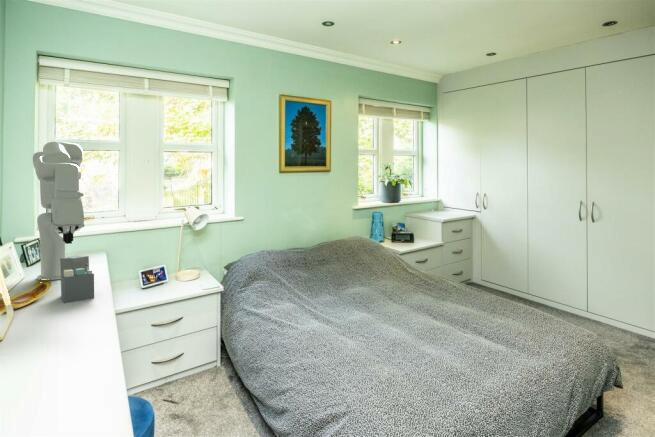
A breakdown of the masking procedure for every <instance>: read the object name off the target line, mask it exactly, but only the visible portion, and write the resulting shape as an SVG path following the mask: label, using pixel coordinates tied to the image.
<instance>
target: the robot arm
mask: <svg viewBox="0 0 655 437" xmlns="http://www.w3.org/2000/svg"><path fill="white" fill-rule="evenodd" d="M83 159H84V150H83V148H82V147H81V145H79V144H77V143H71V142H64V141H63V142H62V141H50V142H47V143H45V144H44V145H43V147H42V151H37V152H35V153H33V154H32V163H33V165H32V166H33V168H34V170H35V174H36V177H37V179H38V180H39V194H40V205H41V207H42V208H44V209H46V210H50V211H49V212H42V213H41V214H39V215H38V216H37V224H36V225H37V228H38V233H39V243H40V244H39V250H40V251H39V252H40V274H39V275H37V276H36V279H37V281H38V280H39V281H41V280H40V279H49V280H48V281H57V280H61V270H60V258H64V257H66V245H68V244H72V243H73V242H74V233H75V232H78V231H80V230H81V229H83V228H85V224H84V223H85V214H84V207H83V201H82V197H84V193H83V192H81V191H80V180H81V179H82V178H81V176H82V170H81V169H80V166H81V165H82V163H83ZM59 233H61V234H62V236H61V235H60V234H59Z"/></svg>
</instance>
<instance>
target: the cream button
mask: <svg viewBox="0 0 655 437" xmlns="http://www.w3.org/2000/svg"><path fill="white" fill-rule="evenodd" d="M72 276H74V270H72V269H70V270H64V277H72Z"/></svg>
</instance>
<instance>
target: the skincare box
mask: <svg viewBox="0 0 655 437" xmlns="http://www.w3.org/2000/svg"><path fill="white" fill-rule="evenodd" d="M89 257H90V256H89V255H72V256H71V255H70V256H65V257H64V258H60V270H61V275H64V270H70V269H72V270H74V274H75V269H79V268H84V269H85V272H87V269H86V264H88V270H90V260H89V259H90V258H89Z"/></svg>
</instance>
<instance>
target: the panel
mask: <svg viewBox="0 0 655 437" xmlns="http://www.w3.org/2000/svg"><path fill="white" fill-rule="evenodd" d="M60 295H61V302H63V303H64V304H68V303H69V304H70V303H74V302H80V301H85V300H91V299H95V273H94V272H92V274H87V272H85V275H79V276H76V275H75V274H74V276H72V277H64V275H61V279H60Z"/></svg>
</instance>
